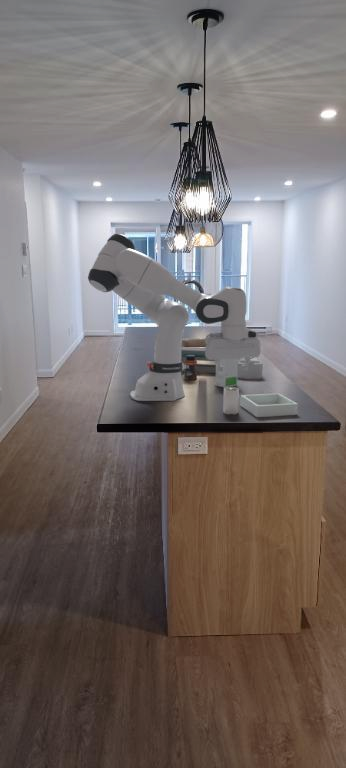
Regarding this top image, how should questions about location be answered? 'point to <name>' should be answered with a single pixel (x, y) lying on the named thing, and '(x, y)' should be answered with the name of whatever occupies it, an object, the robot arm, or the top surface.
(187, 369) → the supplement bottle
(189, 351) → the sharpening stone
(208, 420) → the top surface
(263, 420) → the top surface
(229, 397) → the white cup
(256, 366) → the lumpy-topped squat cylinder
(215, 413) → the top surface
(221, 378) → the skincare box
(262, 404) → the sage tray
